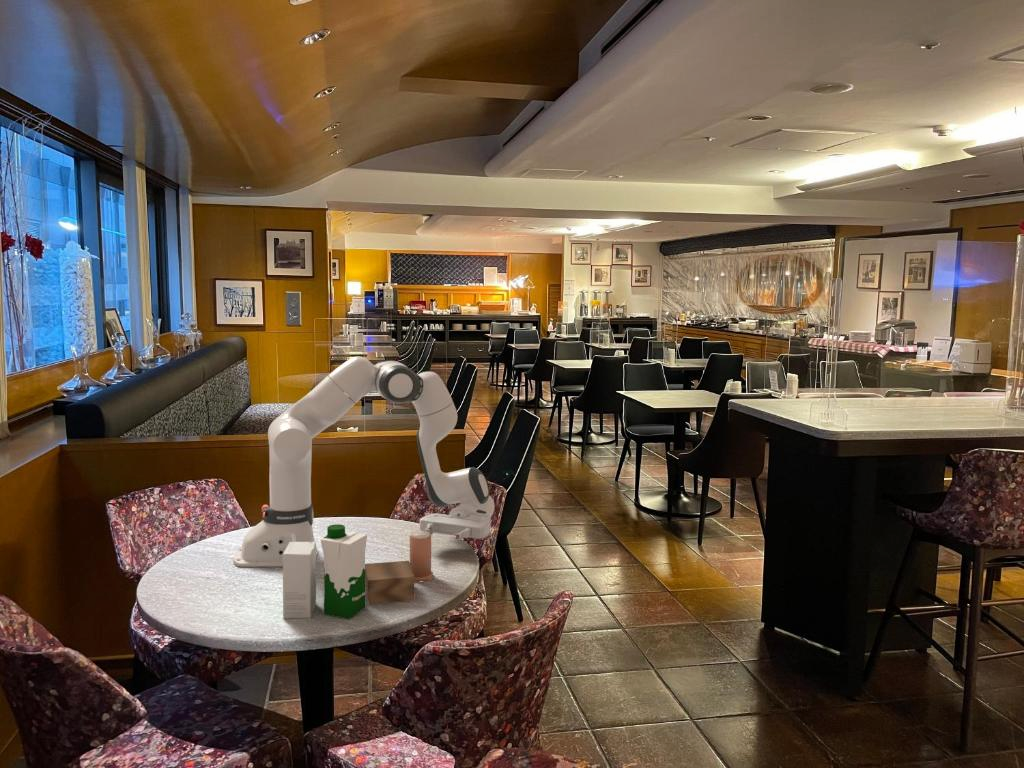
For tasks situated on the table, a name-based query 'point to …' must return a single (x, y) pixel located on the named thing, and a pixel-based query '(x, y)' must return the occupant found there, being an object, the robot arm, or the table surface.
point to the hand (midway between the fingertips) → (442, 534)
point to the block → (389, 582)
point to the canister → (420, 555)
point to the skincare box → (299, 580)
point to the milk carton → (344, 572)
